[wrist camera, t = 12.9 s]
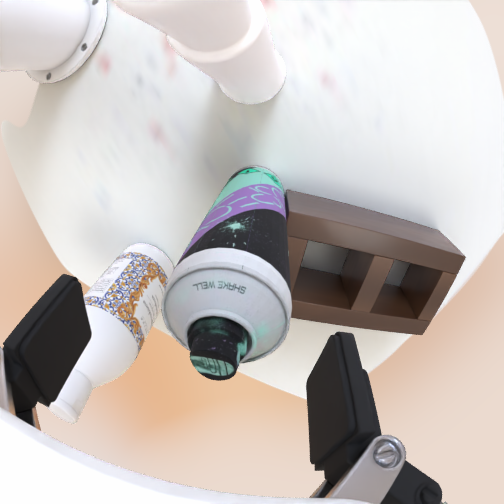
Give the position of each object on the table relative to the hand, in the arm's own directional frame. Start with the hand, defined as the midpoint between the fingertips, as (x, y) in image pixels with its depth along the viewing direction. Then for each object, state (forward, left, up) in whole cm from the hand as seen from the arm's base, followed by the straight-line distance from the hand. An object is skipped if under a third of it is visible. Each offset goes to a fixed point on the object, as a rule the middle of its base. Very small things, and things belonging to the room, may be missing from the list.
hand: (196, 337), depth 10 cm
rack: (+4, +12, -19) cm, 23 cm away
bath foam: (+11, -10, -19) cm, 24 cm away
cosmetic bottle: (-11, -2, -19) cm, 22 cm away
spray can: (0, +1, -19) cm, 19 cm away
